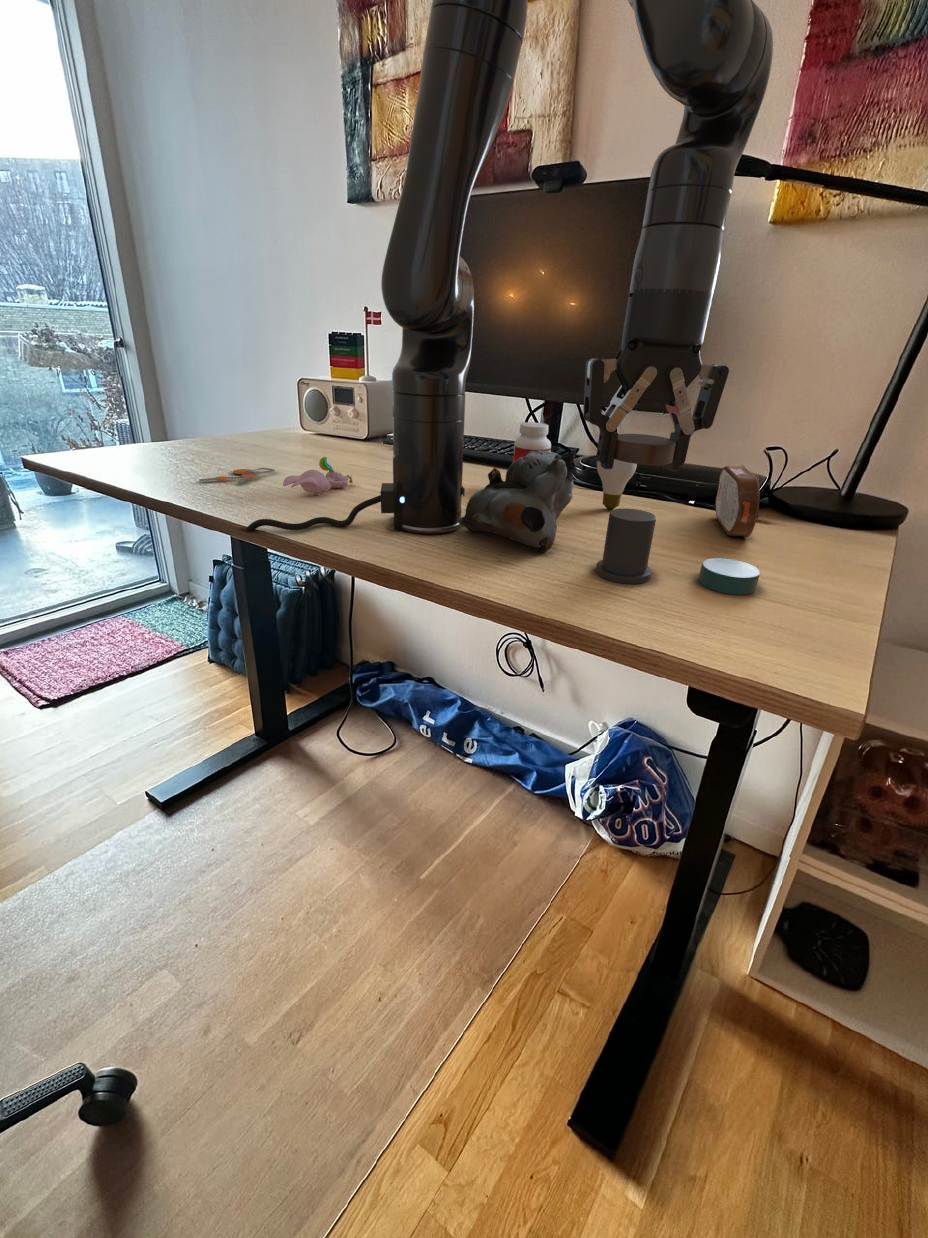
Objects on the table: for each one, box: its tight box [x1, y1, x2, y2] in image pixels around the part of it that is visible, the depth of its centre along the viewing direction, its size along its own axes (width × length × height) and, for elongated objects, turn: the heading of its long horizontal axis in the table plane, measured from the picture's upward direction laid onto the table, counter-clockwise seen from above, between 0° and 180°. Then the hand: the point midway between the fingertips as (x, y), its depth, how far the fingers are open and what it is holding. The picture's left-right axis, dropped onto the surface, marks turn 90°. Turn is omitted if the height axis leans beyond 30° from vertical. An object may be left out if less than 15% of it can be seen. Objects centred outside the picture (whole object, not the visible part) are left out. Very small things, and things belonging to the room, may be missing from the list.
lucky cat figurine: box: [458, 450, 576, 553], centre depth 74 cm, size 15×12×14 cm
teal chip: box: [698, 557, 761, 596], centre depth 65 cm, size 6×6×2 cm
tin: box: [714, 464, 761, 538], centre depth 83 cm, size 15×3×8 cm, turn 168°
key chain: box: [198, 467, 276, 484], centre depth 101 cm, size 13×7×1 cm, turn 156°
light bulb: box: [596, 459, 638, 511], centre depth 89 cm, size 6×6×10 cm
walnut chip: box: [614, 433, 677, 466], centre depth 60 cm, size 6×6×2 cm
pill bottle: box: [512, 421, 552, 463], centre depth 98 cm, size 6×6×11 cm
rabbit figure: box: [282, 456, 354, 496], centre depth 92 cm, size 6×6×15 cm
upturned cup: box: [595, 508, 657, 585], centre depth 65 cm, size 6×6×7 cm
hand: (638, 468), depth 61 cm, fingers closed on walnut chip, 6 cm apart
